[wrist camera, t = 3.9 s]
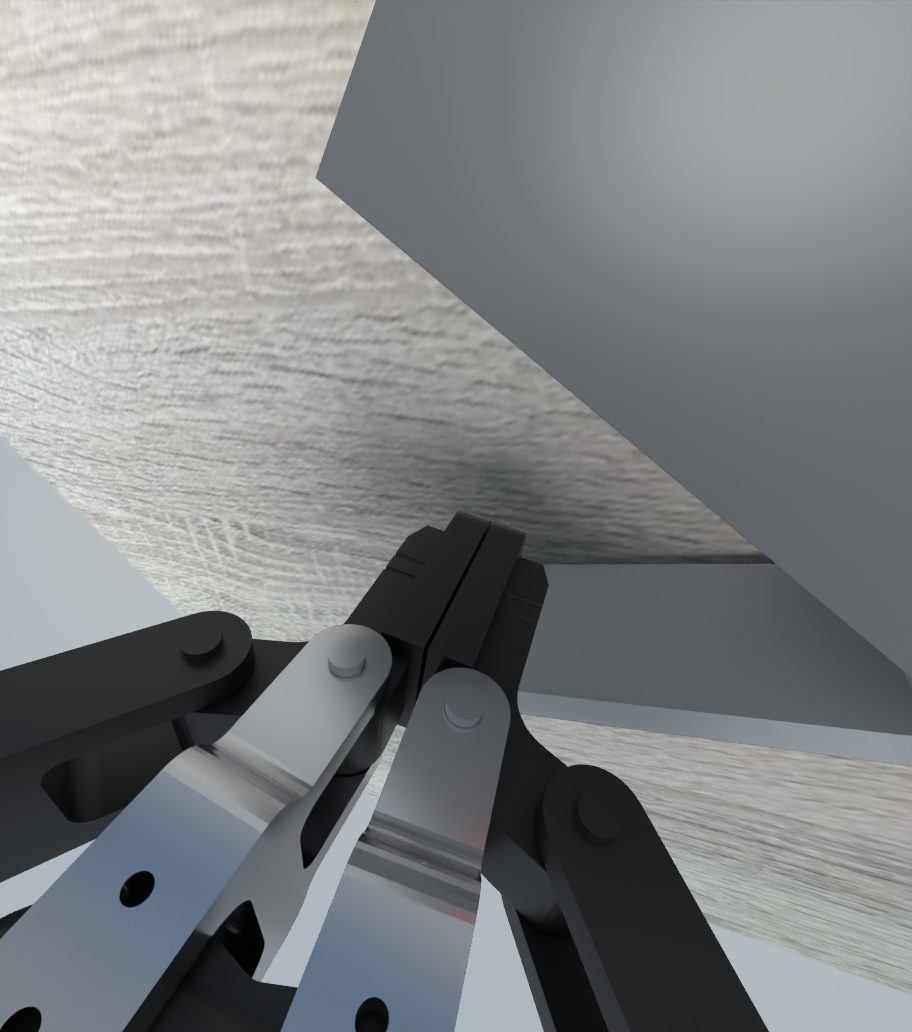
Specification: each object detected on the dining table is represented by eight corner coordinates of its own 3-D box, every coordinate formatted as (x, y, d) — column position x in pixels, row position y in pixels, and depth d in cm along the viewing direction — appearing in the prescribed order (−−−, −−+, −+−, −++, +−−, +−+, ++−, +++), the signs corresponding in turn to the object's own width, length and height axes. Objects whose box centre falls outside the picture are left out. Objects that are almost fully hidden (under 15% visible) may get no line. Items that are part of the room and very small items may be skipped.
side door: (906, 548, 12) (1033, 752, 7) (898, 588, 12) (1013, 799, 8) (453, 554, 17) (381, 677, 13) (462, 582, 17) (396, 708, 13)
